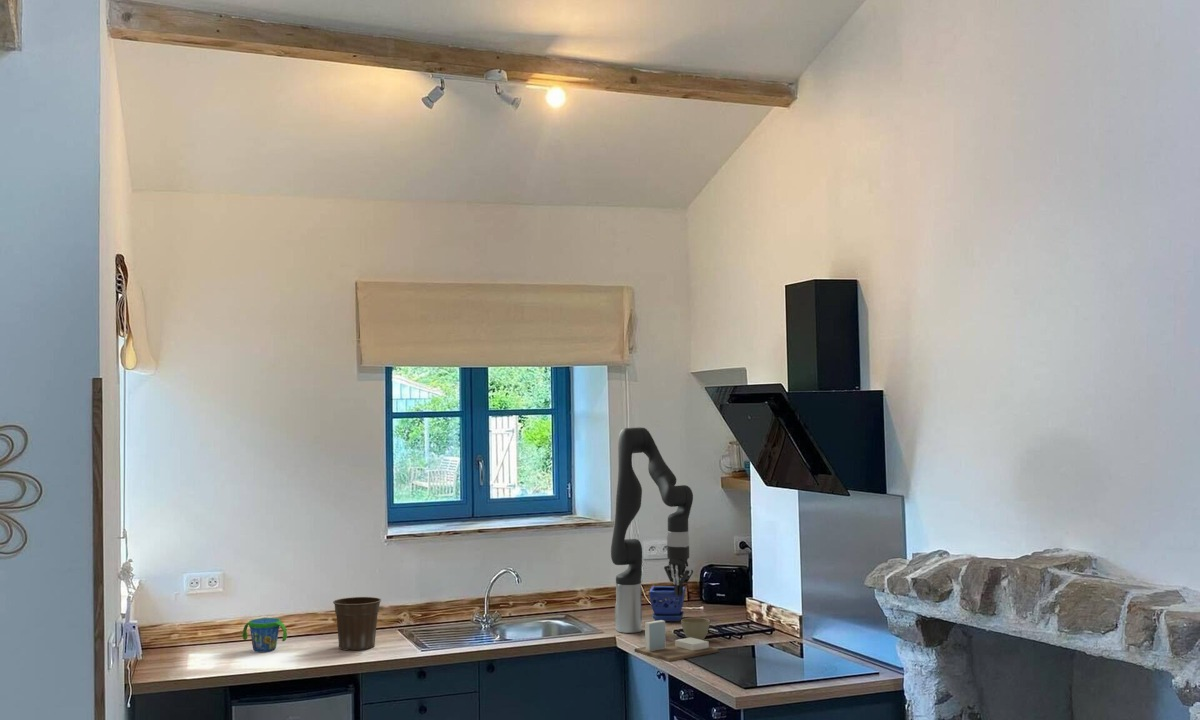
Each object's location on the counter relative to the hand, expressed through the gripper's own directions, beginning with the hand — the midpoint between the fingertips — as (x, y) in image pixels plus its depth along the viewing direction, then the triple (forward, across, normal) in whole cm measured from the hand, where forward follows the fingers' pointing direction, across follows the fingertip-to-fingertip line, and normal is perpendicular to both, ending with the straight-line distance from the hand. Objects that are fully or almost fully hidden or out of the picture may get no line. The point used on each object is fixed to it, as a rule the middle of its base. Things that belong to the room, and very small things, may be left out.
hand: (678, 595), depth 354 cm
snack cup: (+19, -88, -112) cm, 144 cm away
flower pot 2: (+18, -4, +11) cm, 21 cm away
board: (+17, +5, -6) cm, 19 cm away
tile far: (+15, +2, 0) cm, 15 cm away
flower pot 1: (+18, -41, +29) cm, 53 cm away
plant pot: (+18, -72, -85) cm, 113 cm away
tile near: (+16, +1, -11) cm, 20 cm away
